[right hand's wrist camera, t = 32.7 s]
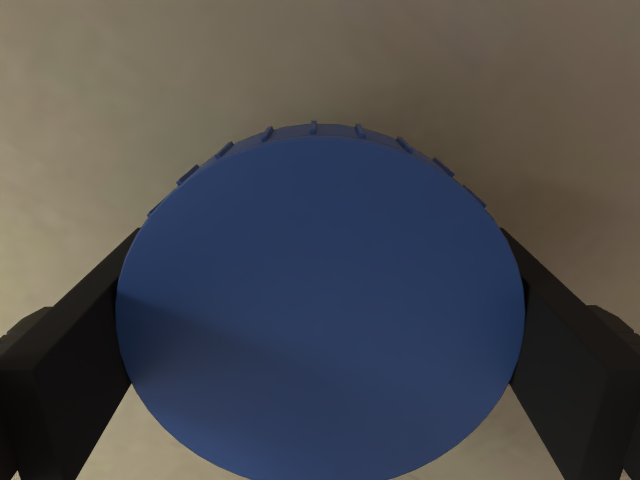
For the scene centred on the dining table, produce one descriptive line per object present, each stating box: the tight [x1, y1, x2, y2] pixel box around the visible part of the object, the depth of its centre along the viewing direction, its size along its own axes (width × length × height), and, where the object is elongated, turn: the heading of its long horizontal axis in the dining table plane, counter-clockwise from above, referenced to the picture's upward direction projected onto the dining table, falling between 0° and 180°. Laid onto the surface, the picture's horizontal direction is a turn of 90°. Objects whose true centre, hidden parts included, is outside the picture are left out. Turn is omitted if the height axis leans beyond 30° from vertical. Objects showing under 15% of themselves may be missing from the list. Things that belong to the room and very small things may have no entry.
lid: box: [115, 120, 526, 480], centre depth 11 cm, size 9×9×2 cm
